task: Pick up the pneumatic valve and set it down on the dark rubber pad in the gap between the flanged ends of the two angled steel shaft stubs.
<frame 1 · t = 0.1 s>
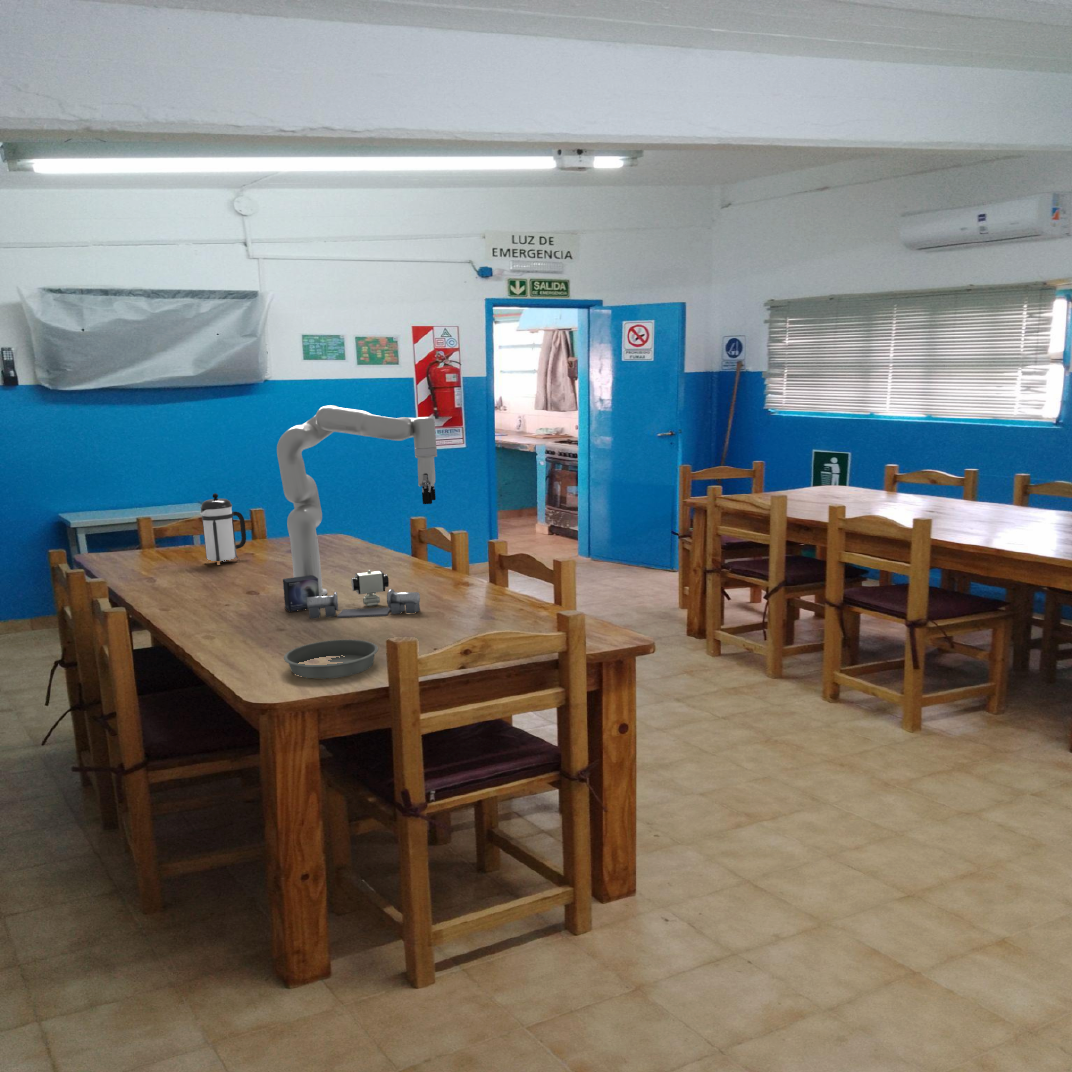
hand: (429, 502, 359), 31 cm above the table, tool pointing down, fingers open, 9 cm apart
cake pan: (332, 668, 274), on the table
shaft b: (405, 612, 332), on the table
pad: (364, 613, 333), on the table
small box: (302, 609, 345), on the table
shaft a: (323, 615, 333), on the table
coffee press: (224, 562, 441), on the table
pneumatic valve: (371, 605, 345), on the table
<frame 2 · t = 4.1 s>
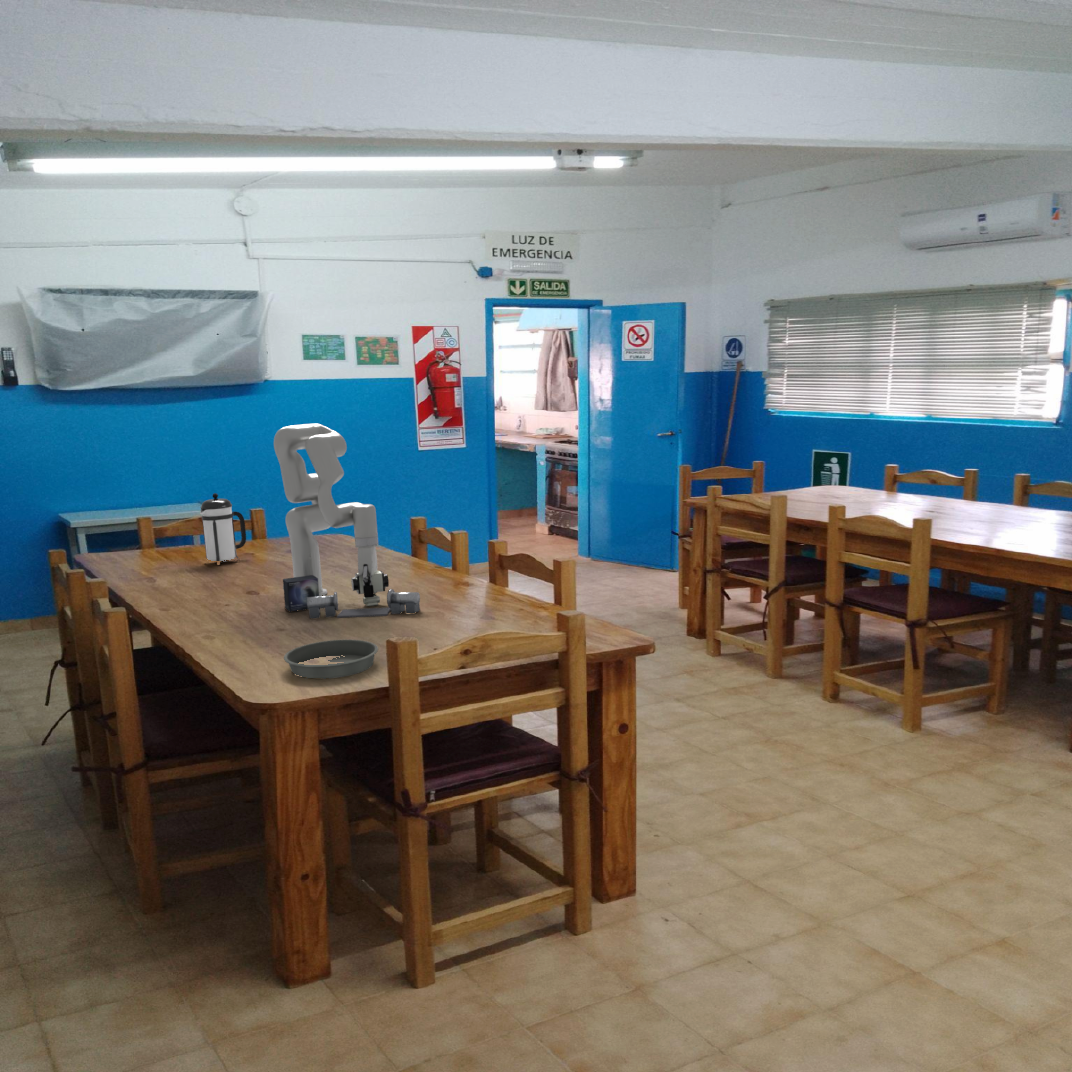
hand: (370, 594, 344), 4 cm above the table, tool pointing down, fingers closed on pneumatic valve, 5 cm apart
pneumatic valve: (371, 605, 345), on the table, touching gripper
everything else where it was.
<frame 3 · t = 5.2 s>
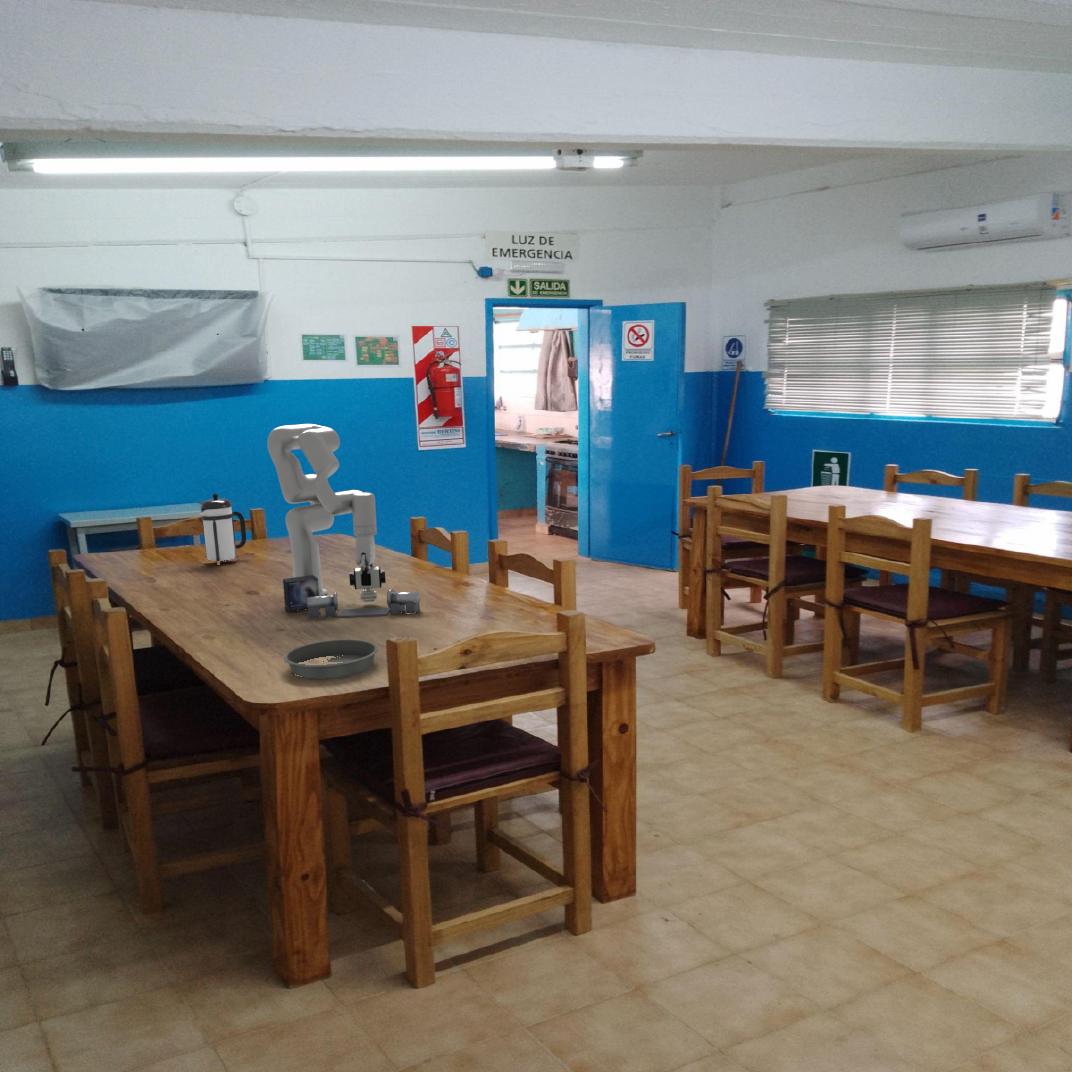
hand: (368, 582, 344), 7 cm above the table, tool pointing down, fingers closed on pneumatic valve, 5 cm apart
pneumatic valve: (369, 600, 345), point 1 cm above the table, touching gripper
everything else where it was.
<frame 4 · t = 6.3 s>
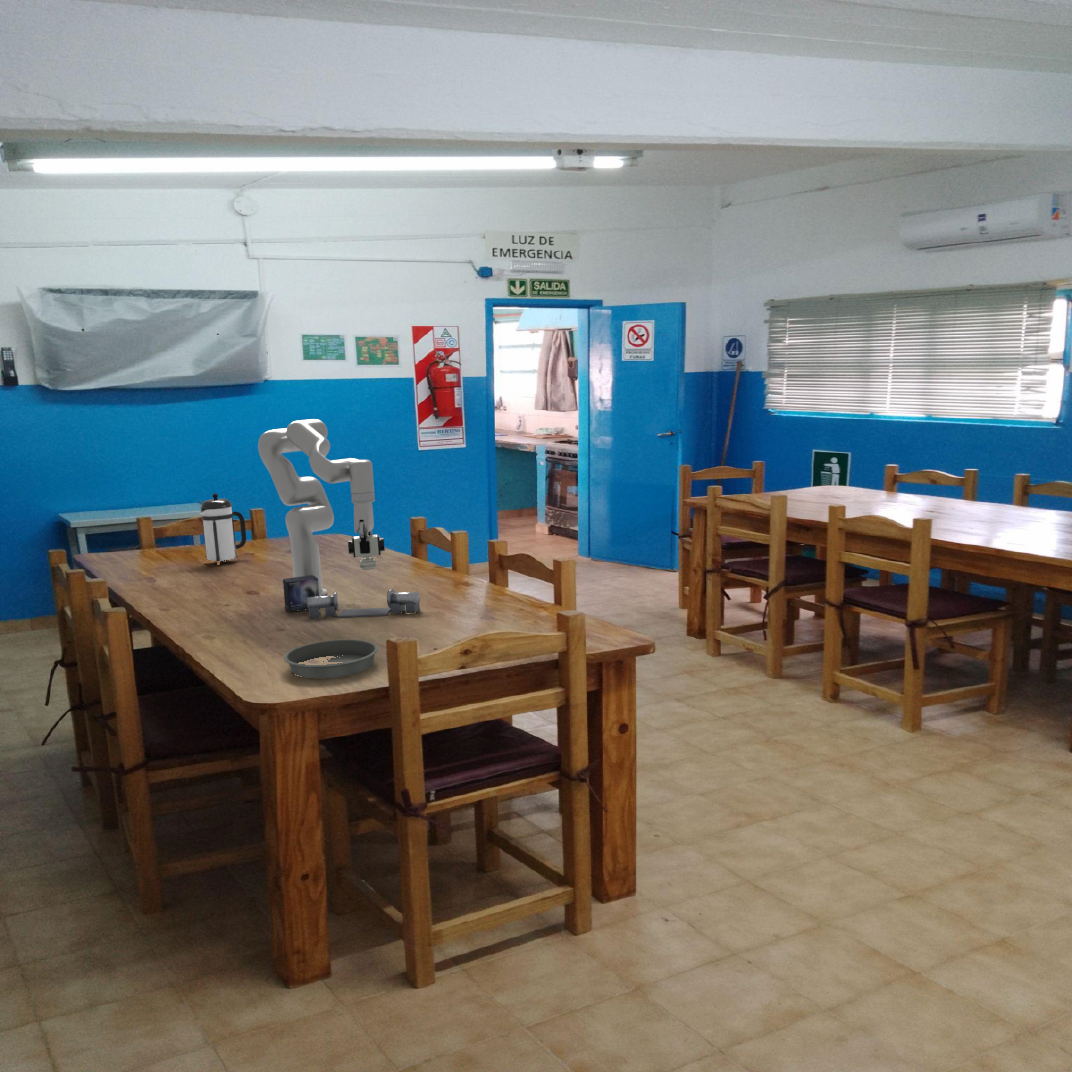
hand: (367, 551, 342), 18 cm above the table, tool pointing down, fingers closed on pneumatic valve, 5 cm apart
pneumatic valve: (368, 569, 343), point 12 cm above the table, touching gripper
everything else where it was.
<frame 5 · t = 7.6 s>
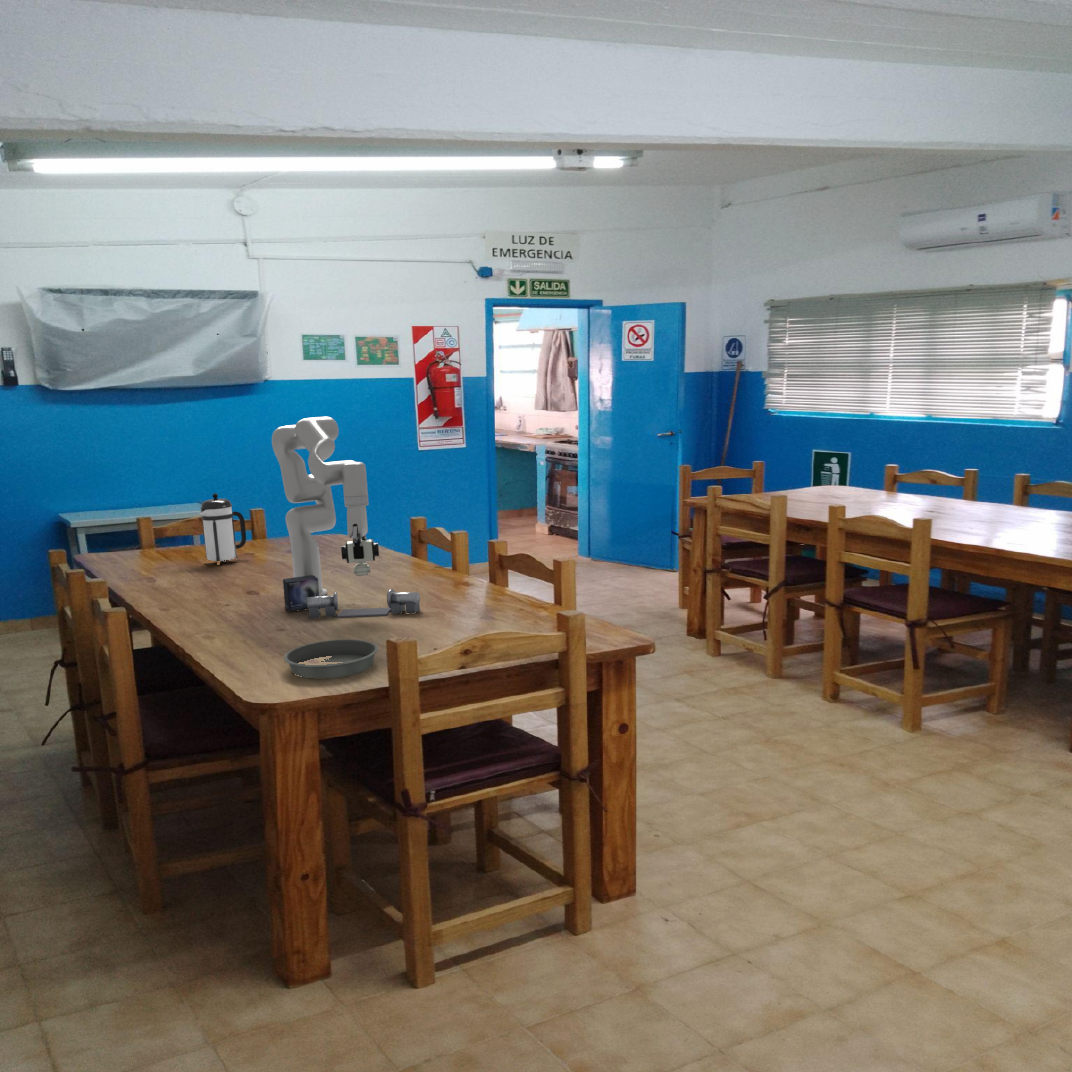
hand: (360, 556, 331), 19 cm above the table, tool pointing down, fingers closed on pneumatic valve, 5 cm apart
pneumatic valve: (362, 575, 332), point 12 cm above the table, touching gripper
everything else where it was.
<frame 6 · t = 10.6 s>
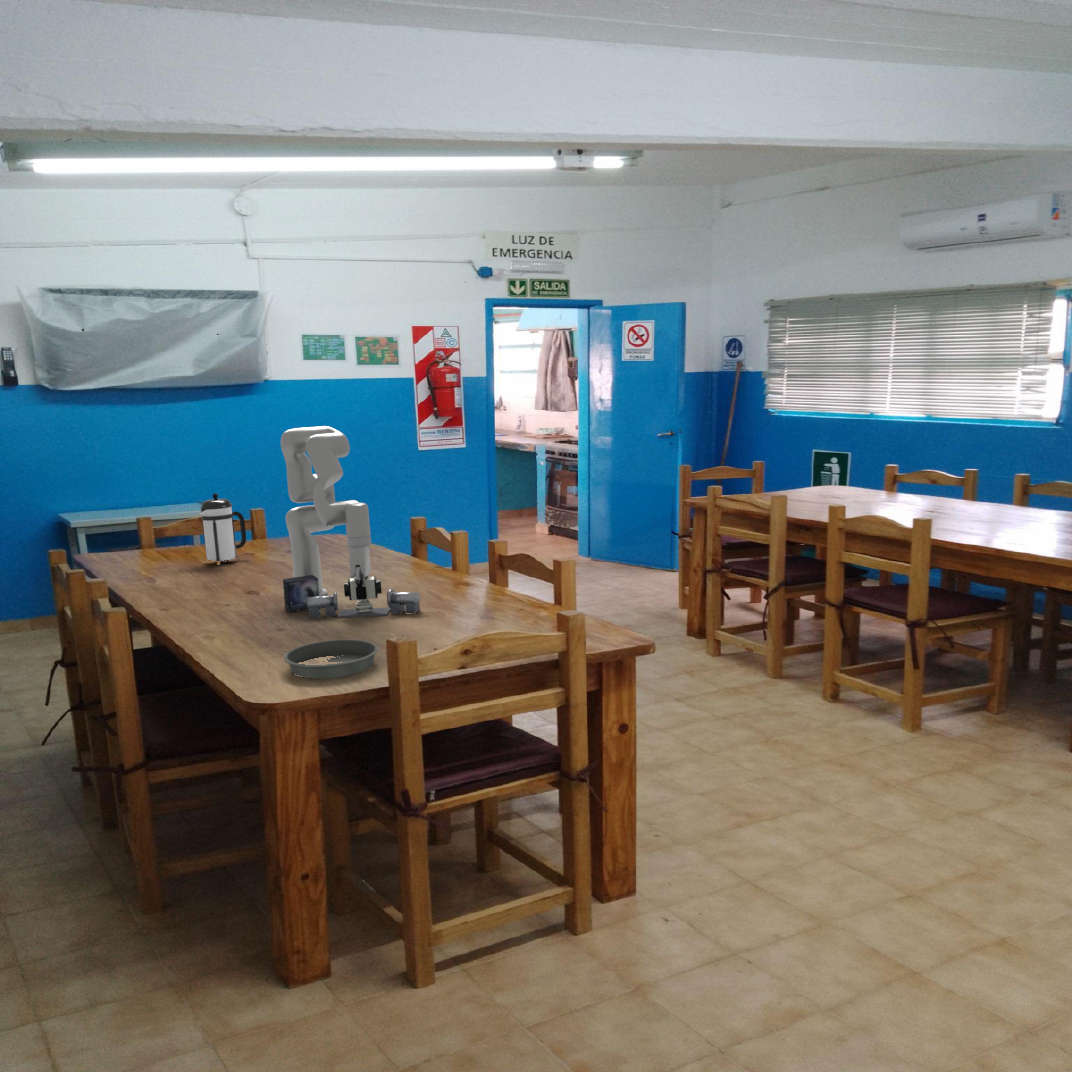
hand: (363, 596, 332), 6 cm above the table, tool pointing down, fingers open, 5 cm apart
pneumatic valve: (364, 612, 333), resting on pad, touching gripper
everything else where it was.
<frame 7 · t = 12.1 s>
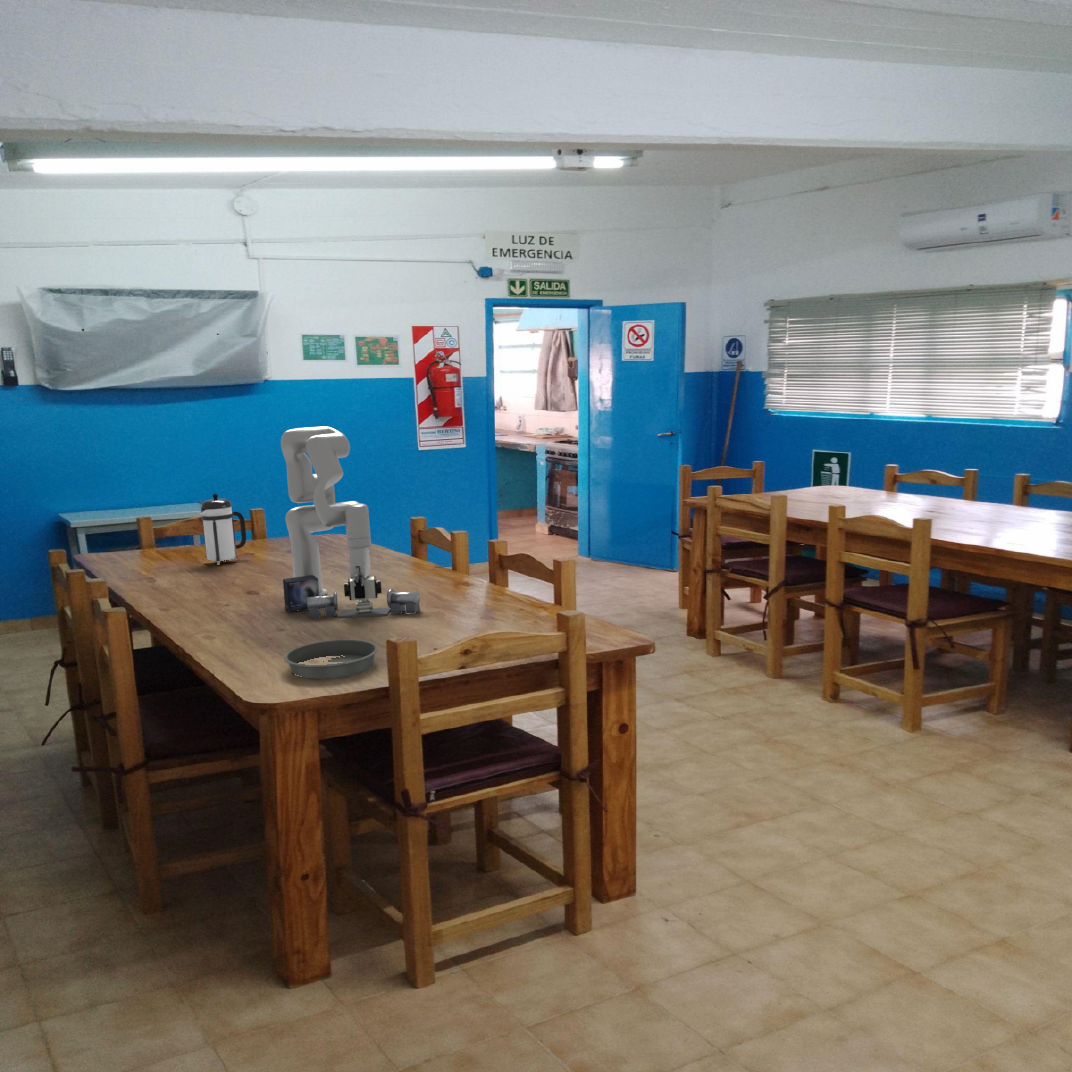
hand: (363, 595, 332), 6 cm above the table, tool pointing down, fingers open, 9 cm apart
pneumatic valve: (364, 612, 333), resting on pad
everything else where it was.
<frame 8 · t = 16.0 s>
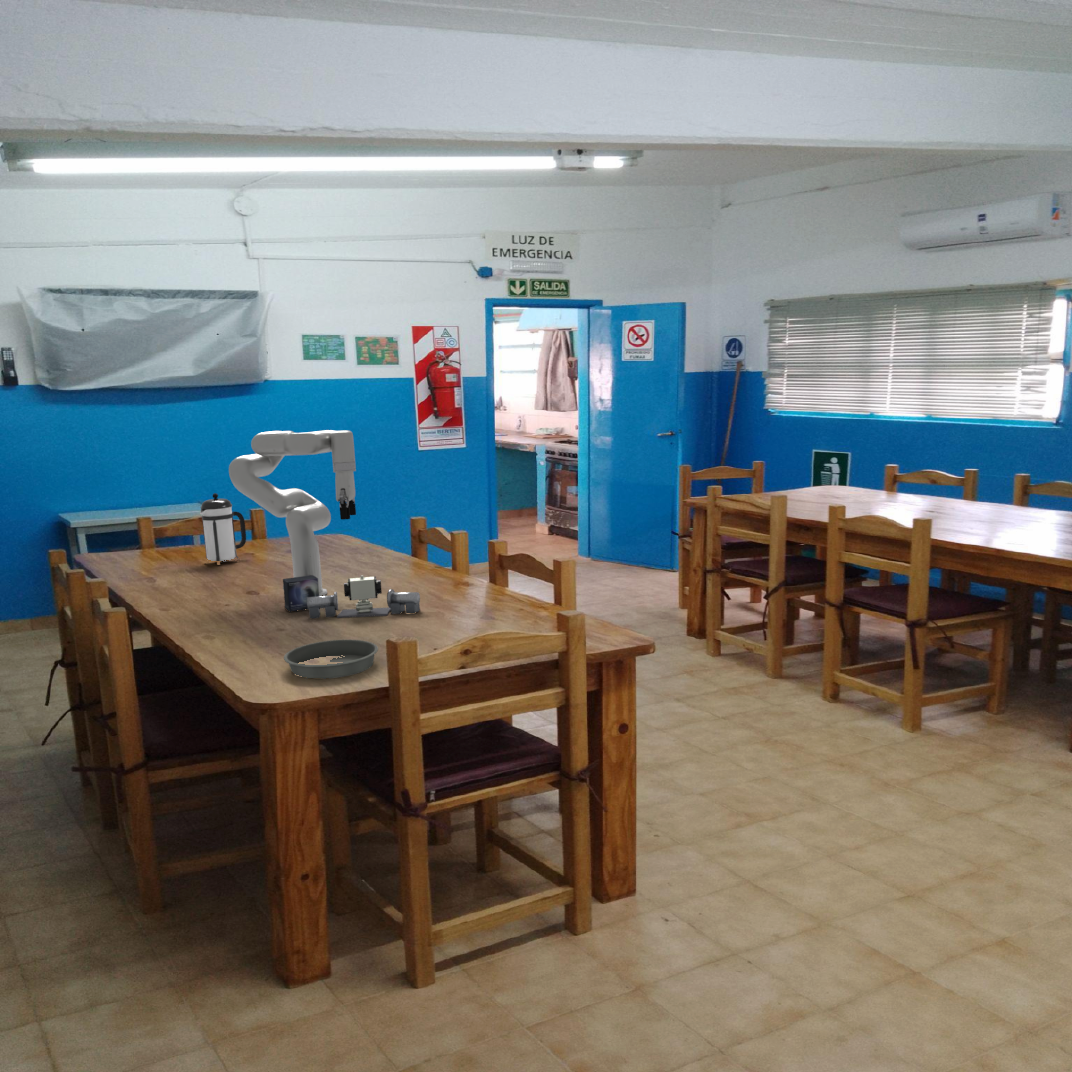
hand: (348, 517, 352), 28 cm above the table, tool pointing down, fingers open, 9 cm apart
nothing on the table moved.
at the end: pneumatic valve inside the target area on the pad (0.0 cm from its centre), point 0.4 cm above the pad's base; pneumatic valve tilted 0°; the gripper is holding nothing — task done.
